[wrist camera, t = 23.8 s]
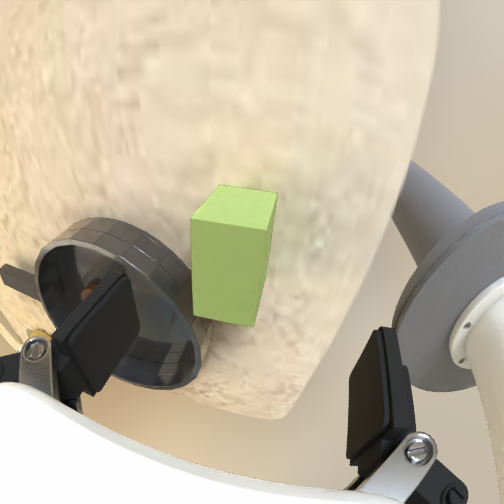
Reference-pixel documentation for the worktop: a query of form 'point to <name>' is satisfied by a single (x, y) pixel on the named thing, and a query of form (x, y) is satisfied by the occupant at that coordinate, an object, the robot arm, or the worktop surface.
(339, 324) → the worktop surface
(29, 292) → the pan handle
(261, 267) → the sponge
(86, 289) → the brown disc
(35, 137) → the worktop surface
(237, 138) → the worktop surface
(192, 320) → the pan
